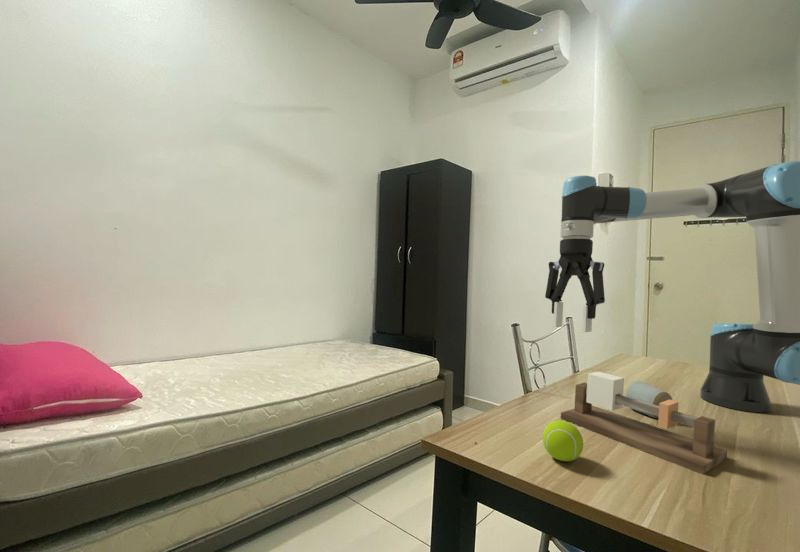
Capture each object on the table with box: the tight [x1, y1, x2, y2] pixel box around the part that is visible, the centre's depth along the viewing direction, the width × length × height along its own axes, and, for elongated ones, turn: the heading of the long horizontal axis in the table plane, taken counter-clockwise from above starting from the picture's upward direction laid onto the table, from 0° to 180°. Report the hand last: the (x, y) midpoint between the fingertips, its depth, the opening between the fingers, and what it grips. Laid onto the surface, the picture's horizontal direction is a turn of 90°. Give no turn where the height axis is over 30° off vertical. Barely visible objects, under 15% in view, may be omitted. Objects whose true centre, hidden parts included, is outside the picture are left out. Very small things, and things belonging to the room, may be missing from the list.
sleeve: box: [586, 371, 625, 412], centre depth 87 cm, size 5×6×7 cm
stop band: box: [657, 399, 679, 430], centre depth 76 cm, size 5×2×5 cm, turn 124°
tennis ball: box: [542, 420, 584, 462], centre depth 70 cm, size 7×7×7 cm
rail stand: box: [560, 382, 728, 475], centre depth 81 cm, size 12×28×8 cm, turn 33°
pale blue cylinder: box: [624, 380, 673, 420], centre depth 96 cm, size 11×8×8 cm
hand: (571, 329), depth 95 cm, fingers open, 7 cm apart
